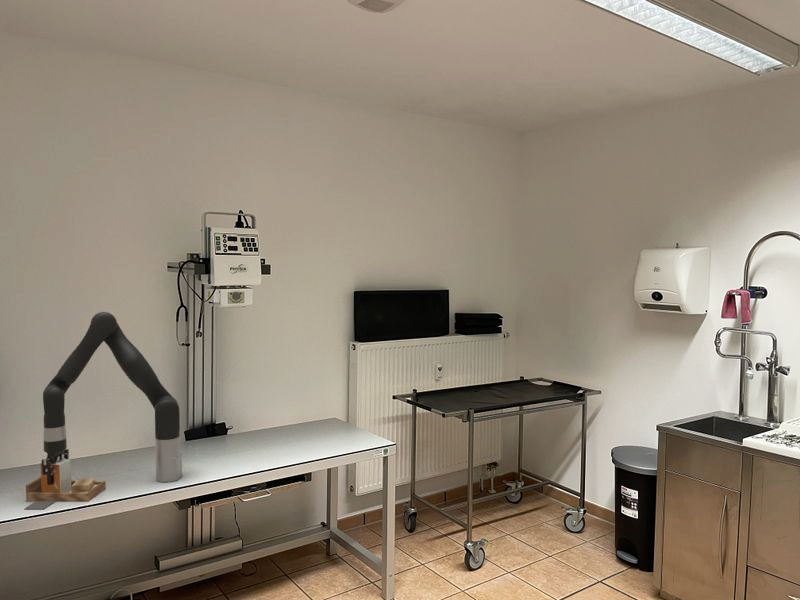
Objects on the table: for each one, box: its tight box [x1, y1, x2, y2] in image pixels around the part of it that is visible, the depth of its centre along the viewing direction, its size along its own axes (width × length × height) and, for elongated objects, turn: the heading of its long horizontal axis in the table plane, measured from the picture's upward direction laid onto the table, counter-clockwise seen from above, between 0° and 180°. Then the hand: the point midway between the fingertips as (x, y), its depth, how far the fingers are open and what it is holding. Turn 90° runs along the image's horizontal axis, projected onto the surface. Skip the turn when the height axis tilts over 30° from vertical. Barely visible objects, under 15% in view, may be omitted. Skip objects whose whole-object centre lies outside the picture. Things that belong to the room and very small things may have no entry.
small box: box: [40, 459, 72, 493], centre depth 229 cm, size 8×6×13 cm
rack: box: [25, 476, 107, 503], centre depth 229 cm, size 23×13×6 cm, turn 90°
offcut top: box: [71, 478, 96, 492], centre depth 229 cm, size 6×7×2 cm
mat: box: [24, 501, 56, 511], centre depth 218 cm, size 7×7×1 cm
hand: (56, 481), depth 229 cm, fingers closed on small box, 6 cm apart
